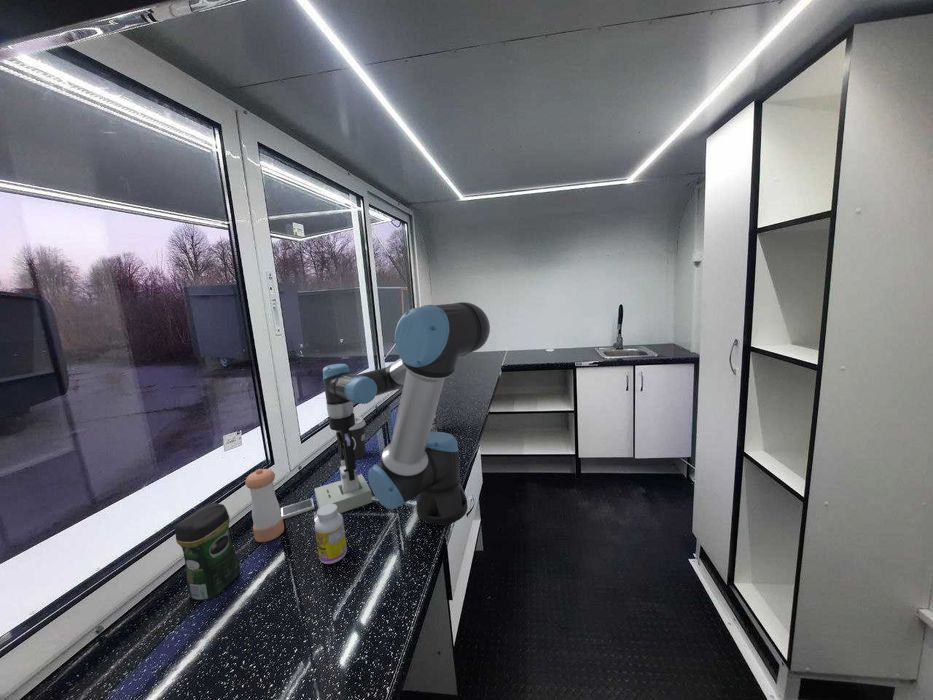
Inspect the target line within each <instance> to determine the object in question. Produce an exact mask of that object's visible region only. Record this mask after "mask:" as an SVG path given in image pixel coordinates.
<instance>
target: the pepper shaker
mask: <svg viewBox="0 0 933 700" xmlns="http://www.w3.org/2000/svg"><path fill="white" fill-rule="evenodd" d="M275 478H276V473H275V472H274V471H273V470H272V469H269V468H263V469H262V468H258V469H256V470H255V471H254V472H251V473H250V474H249V475H248V476H247V477H246V479H245V486H246V487H247V489H249V491H250V496H251V518H252V521H253V524H252V531H253V536H254V541H256V542H257V543H265V542H269V541H272V540H274V539H276V538H278V537H279V536H281V534H282V533H284V531H285V523H284V519H283V517H282V516H281V508H280V504H279V501H278V499H277V497H276V492H275V488H274V487H275V486H274V481H275Z"/></svg>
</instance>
